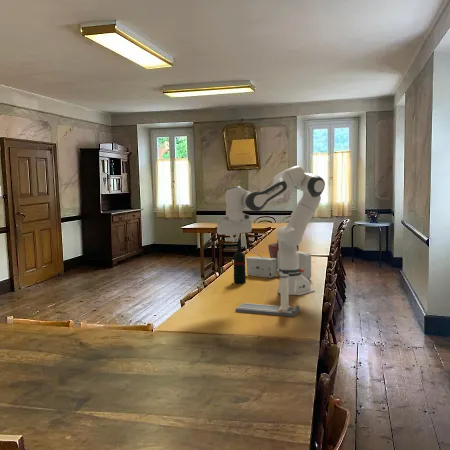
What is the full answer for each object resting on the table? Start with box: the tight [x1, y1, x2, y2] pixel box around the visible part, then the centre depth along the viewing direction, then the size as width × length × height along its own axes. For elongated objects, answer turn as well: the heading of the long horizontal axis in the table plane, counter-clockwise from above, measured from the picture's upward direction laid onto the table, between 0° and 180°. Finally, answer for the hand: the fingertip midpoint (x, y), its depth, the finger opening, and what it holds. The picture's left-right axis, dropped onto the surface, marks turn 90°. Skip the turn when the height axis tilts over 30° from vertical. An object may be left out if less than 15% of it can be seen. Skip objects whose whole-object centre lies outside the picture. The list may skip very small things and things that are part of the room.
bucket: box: [267, 239, 300, 269], centre depth 345 cm, size 24×22×25 cm
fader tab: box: [279, 274, 291, 311], centre depth 225 cm, size 4×7×17 cm, turn 158°
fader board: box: [235, 302, 301, 318], centre depth 229 cm, size 30×12×3 cm, turn 68°
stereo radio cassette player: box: [245, 247, 278, 279], centre depth 318 cm, size 21×8×20 cm, turn 58°
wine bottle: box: [233, 236, 247, 285], centre depth 298 cm, size 8×10×30 cm
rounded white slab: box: [277, 250, 312, 280], centre depth 314 cm, size 29×8×18 cm, turn 33°
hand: (234, 241), depth 246 cm, fingers closed
